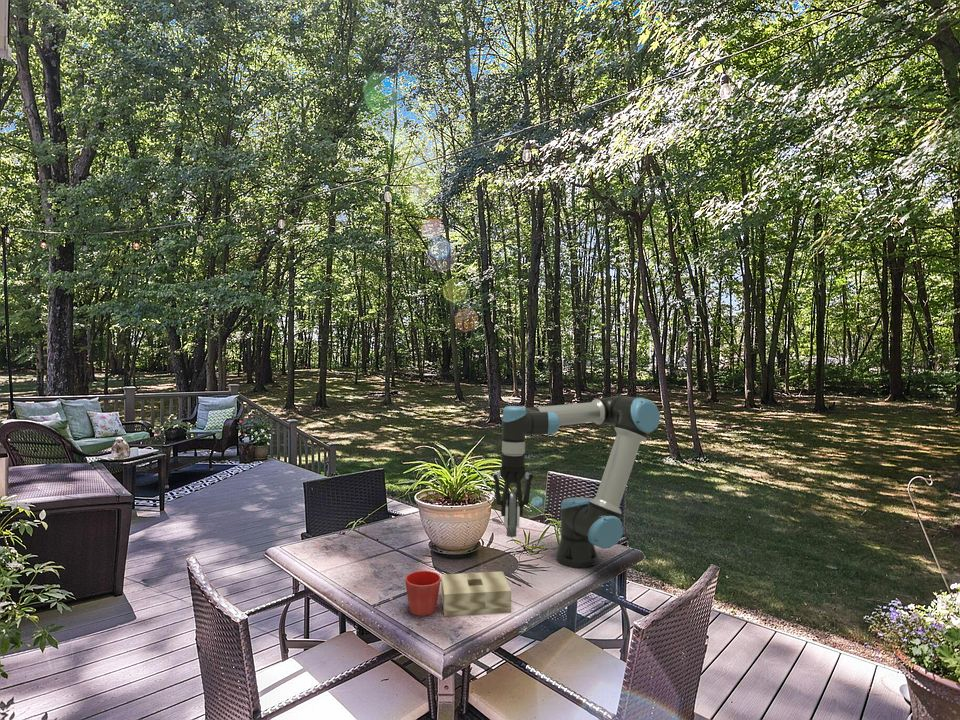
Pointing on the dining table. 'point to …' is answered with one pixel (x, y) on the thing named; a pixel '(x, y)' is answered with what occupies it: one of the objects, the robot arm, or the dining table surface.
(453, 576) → the block
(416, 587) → the flower pot
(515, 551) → the dining table surface
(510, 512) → the pin
